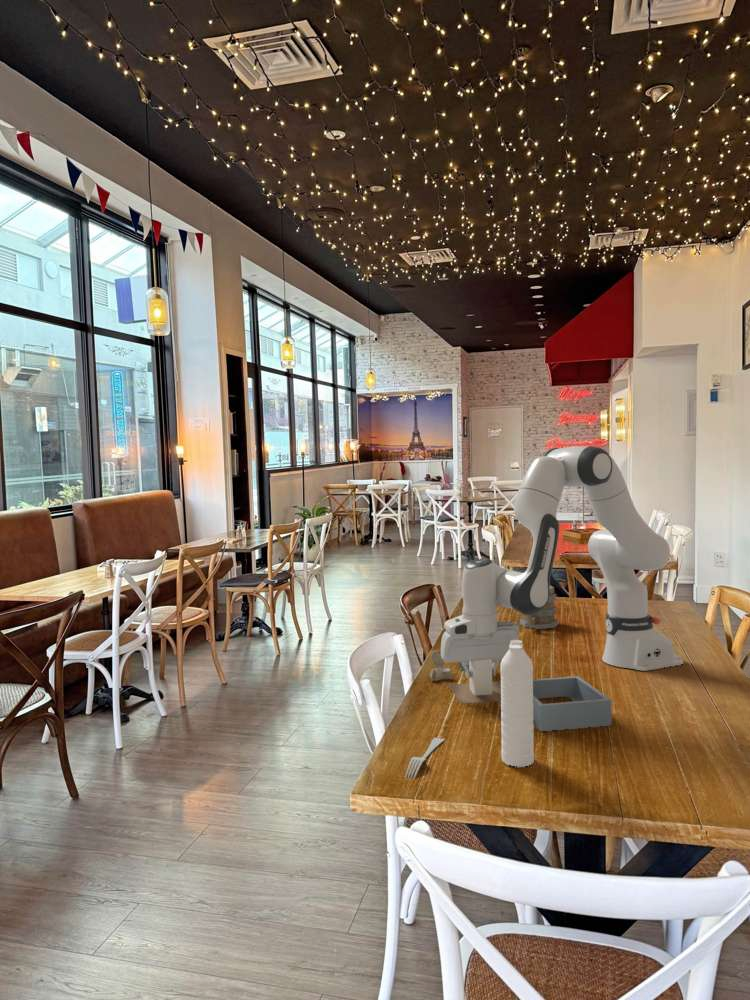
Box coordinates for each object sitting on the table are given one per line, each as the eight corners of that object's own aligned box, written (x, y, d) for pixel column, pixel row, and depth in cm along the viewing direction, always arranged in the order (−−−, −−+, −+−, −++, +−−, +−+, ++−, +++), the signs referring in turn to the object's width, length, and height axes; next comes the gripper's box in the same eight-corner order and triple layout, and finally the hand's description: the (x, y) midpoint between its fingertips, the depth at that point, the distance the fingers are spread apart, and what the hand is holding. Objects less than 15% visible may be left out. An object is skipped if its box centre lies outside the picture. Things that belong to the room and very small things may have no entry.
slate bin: (578, 699, 172) (578, 676, 172) (611, 725, 155) (611, 699, 155) (513, 704, 169) (513, 681, 169) (540, 732, 153) (540, 705, 152)
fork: (446, 750, 151) (447, 737, 151) (415, 782, 132) (415, 768, 132) (434, 748, 152) (434, 736, 152) (401, 780, 133) (401, 765, 133)
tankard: (529, 619, 255) (529, 579, 254) (562, 623, 247) (562, 582, 246) (506, 631, 239) (506, 588, 238) (541, 635, 231) (540, 592, 230)
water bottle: (502, 752, 143) (500, 635, 141) (534, 755, 141) (533, 636, 139) (500, 771, 134) (498, 647, 133) (533, 774, 133) (532, 649, 131)
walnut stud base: (498, 686, 183) (497, 668, 182) (516, 705, 169) (516, 685, 169) (447, 690, 181) (447, 672, 180) (462, 709, 167) (461, 690, 167)
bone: (451, 684, 180) (433, 650, 183) (432, 694, 183) (414, 660, 185) (462, 677, 188) (445, 644, 190) (443, 686, 191) (426, 654, 193)
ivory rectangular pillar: (486, 688, 177) (486, 654, 177) (492, 694, 173) (491, 659, 172) (469, 689, 177) (469, 655, 176) (474, 695, 172) (474, 660, 171)
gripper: (514, 617, 178) (514, 669, 179) (438, 622, 175) (439, 675, 176) (523, 623, 172) (523, 677, 173) (444, 628, 169) (445, 683, 170)
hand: (480, 676), depth 174 cm, fingers closed on ivory rectangular pillar, 5 cm apart
